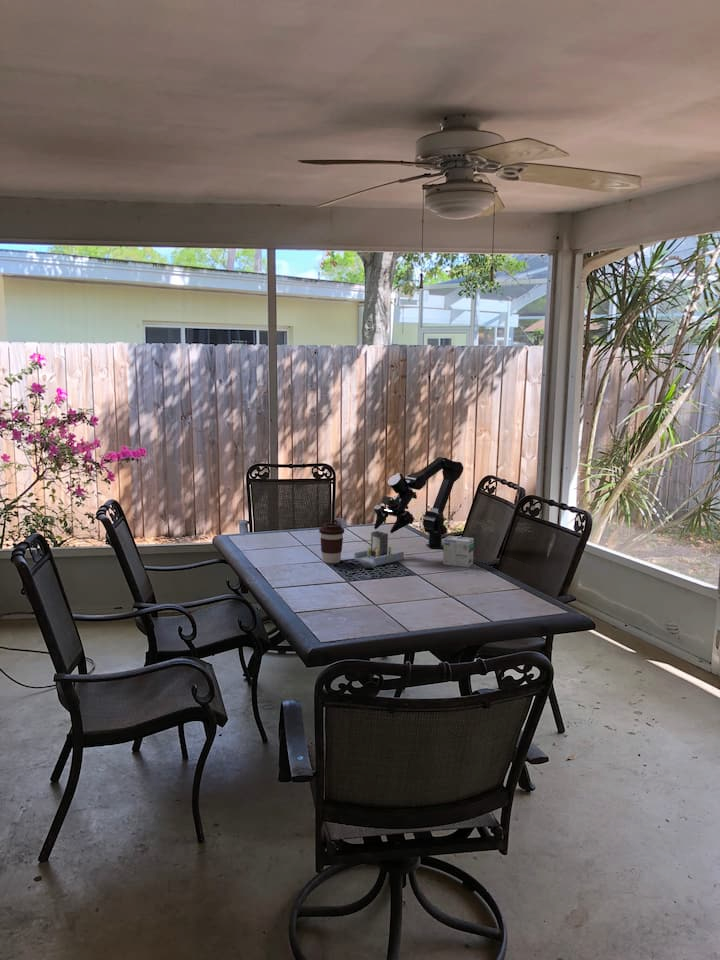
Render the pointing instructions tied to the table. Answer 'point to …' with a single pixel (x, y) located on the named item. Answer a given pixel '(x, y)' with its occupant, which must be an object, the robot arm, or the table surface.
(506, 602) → the table surface
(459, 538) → the light bulb box
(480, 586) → the table surface
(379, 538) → the block
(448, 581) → the table surface
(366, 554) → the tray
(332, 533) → the coffee cup
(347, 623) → the table surface
